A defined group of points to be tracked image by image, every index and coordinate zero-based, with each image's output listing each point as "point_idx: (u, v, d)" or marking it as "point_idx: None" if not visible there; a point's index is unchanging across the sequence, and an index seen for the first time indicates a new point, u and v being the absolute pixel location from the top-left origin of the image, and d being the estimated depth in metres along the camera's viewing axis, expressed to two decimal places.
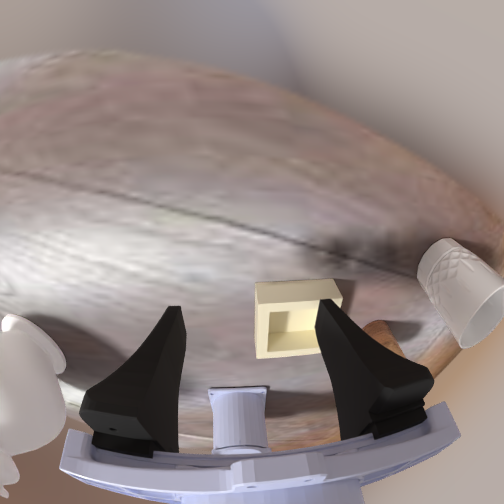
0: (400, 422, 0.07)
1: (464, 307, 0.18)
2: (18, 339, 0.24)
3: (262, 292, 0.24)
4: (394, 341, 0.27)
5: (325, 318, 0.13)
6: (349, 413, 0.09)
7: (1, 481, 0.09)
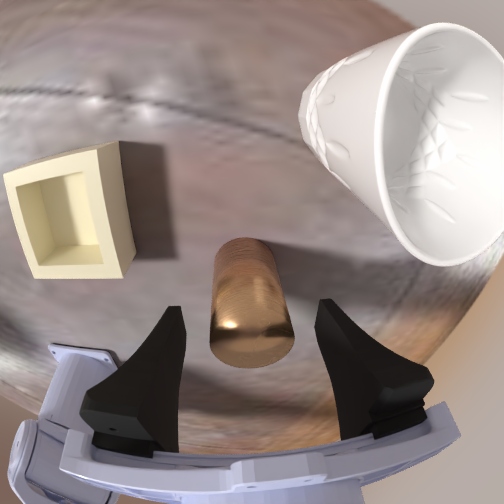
0: (400, 422, 0.07)
1: (360, 86, 0.06)
2: None
3: (21, 166, 0.12)
4: (262, 270, 0.14)
5: (325, 318, 0.13)
6: (349, 413, 0.09)
7: None
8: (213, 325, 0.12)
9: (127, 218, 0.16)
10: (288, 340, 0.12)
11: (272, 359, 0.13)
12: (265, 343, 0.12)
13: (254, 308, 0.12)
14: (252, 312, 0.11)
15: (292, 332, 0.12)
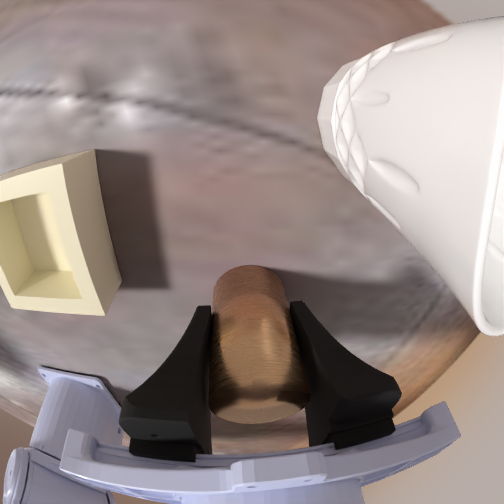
0: (364, 434, 0.07)
1: (448, 84, 0.03)
2: None
3: None
4: (272, 313, 0.12)
5: (294, 321, 0.13)
6: (315, 420, 0.09)
7: None
8: (212, 386, 0.09)
9: (108, 242, 0.13)
10: (303, 399, 0.10)
11: (283, 415, 0.10)
12: (276, 403, 0.10)
13: (263, 370, 0.09)
14: (260, 377, 0.08)
15: (308, 392, 0.09)
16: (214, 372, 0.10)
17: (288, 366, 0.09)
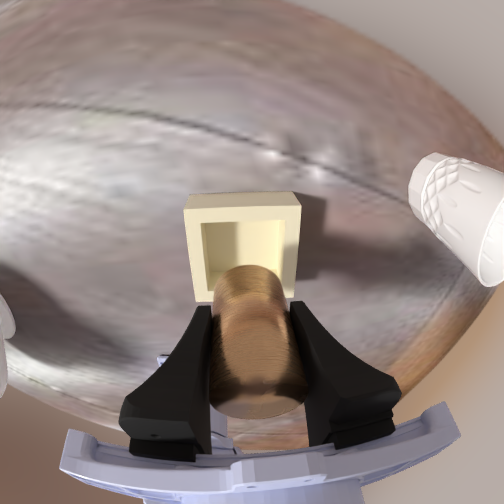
0: (364, 434, 0.07)
1: (477, 213, 0.12)
2: None
3: (194, 201, 0.18)
4: (265, 309, 0.12)
5: (294, 321, 0.13)
6: (315, 420, 0.09)
7: None
8: (210, 384, 0.10)
9: None
10: (301, 392, 0.10)
11: (285, 409, 0.10)
12: (275, 397, 0.10)
13: (254, 366, 0.09)
14: (252, 373, 0.09)
15: (305, 384, 0.09)
16: (212, 371, 0.10)
17: (280, 360, 0.09)
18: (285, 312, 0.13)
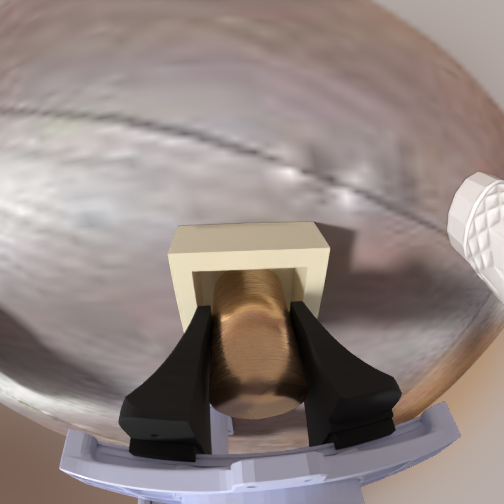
0: (364, 433, 0.07)
1: None
2: None
3: (183, 238, 0.13)
4: (265, 309, 0.12)
5: (294, 321, 0.13)
6: (315, 420, 0.09)
7: None
8: (210, 384, 0.10)
9: None
10: (301, 391, 0.10)
11: (285, 409, 0.10)
12: (275, 397, 0.10)
13: (254, 365, 0.09)
14: (252, 372, 0.09)
15: (304, 384, 0.09)
16: (212, 371, 0.10)
17: (280, 360, 0.09)
18: (285, 312, 0.13)
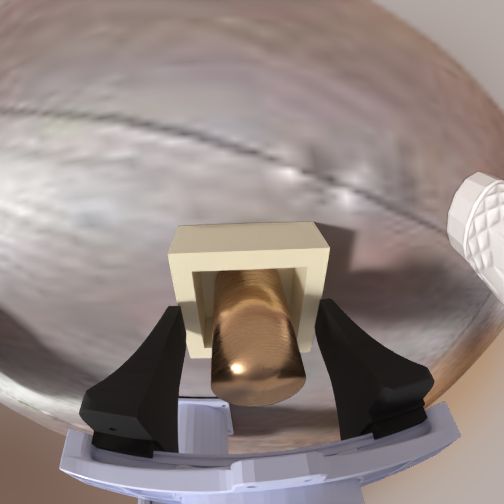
0: (400, 422, 0.07)
1: None
2: None
3: (183, 238, 0.13)
4: (264, 300, 0.12)
5: (325, 318, 0.13)
6: (349, 413, 0.09)
7: None
8: (212, 371, 0.10)
9: None
10: (299, 378, 0.10)
11: (284, 396, 0.11)
12: (273, 384, 0.10)
13: (254, 352, 0.10)
14: (252, 358, 0.09)
15: (302, 371, 0.10)
16: (213, 358, 0.11)
17: (279, 347, 0.10)
18: (283, 303, 0.13)
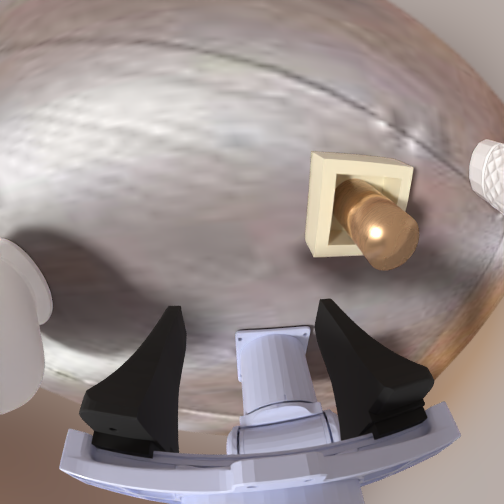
0: (400, 422, 0.07)
1: None
2: None
3: (323, 155, 0.18)
4: (382, 195, 0.17)
5: (325, 318, 0.13)
6: (349, 413, 0.09)
7: None
8: (368, 229, 0.15)
9: None
10: (415, 239, 0.15)
11: (403, 259, 0.16)
12: (401, 242, 0.15)
13: (396, 211, 0.14)
14: (397, 213, 0.14)
15: (418, 231, 0.15)
16: (365, 223, 0.15)
17: None
18: None
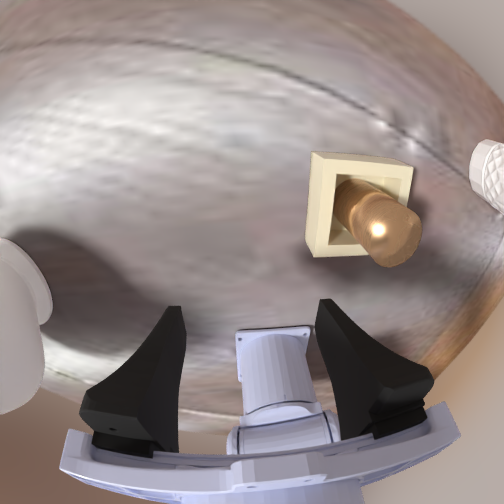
0: (400, 422, 0.07)
1: None
2: None
3: (323, 155, 0.18)
4: (384, 193, 0.17)
5: (325, 318, 0.13)
6: (349, 413, 0.09)
7: None
8: (372, 224, 0.15)
9: None
10: (418, 235, 0.15)
11: (406, 256, 0.16)
12: (405, 238, 0.15)
13: (400, 206, 0.14)
14: (401, 208, 0.14)
15: (421, 227, 0.15)
16: (369, 219, 0.15)
17: (408, 208, 0.15)
18: None
